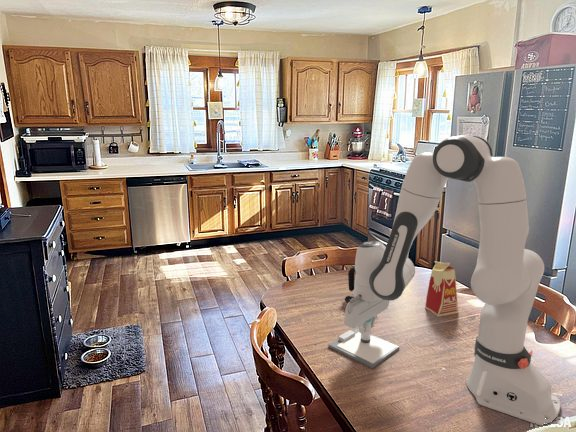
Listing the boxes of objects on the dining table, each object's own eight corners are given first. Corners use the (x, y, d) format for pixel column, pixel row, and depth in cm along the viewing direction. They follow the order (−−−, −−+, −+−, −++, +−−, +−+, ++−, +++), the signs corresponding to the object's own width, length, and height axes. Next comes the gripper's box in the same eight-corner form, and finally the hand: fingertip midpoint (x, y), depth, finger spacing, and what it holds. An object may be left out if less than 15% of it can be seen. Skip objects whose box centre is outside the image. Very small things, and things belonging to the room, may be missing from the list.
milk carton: (458, 312, 163) (463, 263, 158) (438, 317, 160) (443, 266, 155) (441, 303, 171) (445, 255, 167) (422, 307, 168) (426, 258, 163)
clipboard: (399, 349, 139) (399, 343, 138) (372, 368, 129) (372, 362, 128) (356, 330, 151) (356, 324, 150) (328, 347, 140) (328, 341, 140)
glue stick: (372, 340, 142) (373, 316, 140) (366, 344, 140) (367, 320, 137) (364, 336, 144) (365, 313, 142) (358, 340, 142) (359, 316, 140)
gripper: (356, 304, 128) (355, 345, 131) (393, 284, 142) (391, 322, 146) (339, 297, 132) (338, 338, 136) (377, 279, 146) (375, 316, 150)
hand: (366, 329), depth 141 cm, fingers closed on glue stick, 3 cm apart
